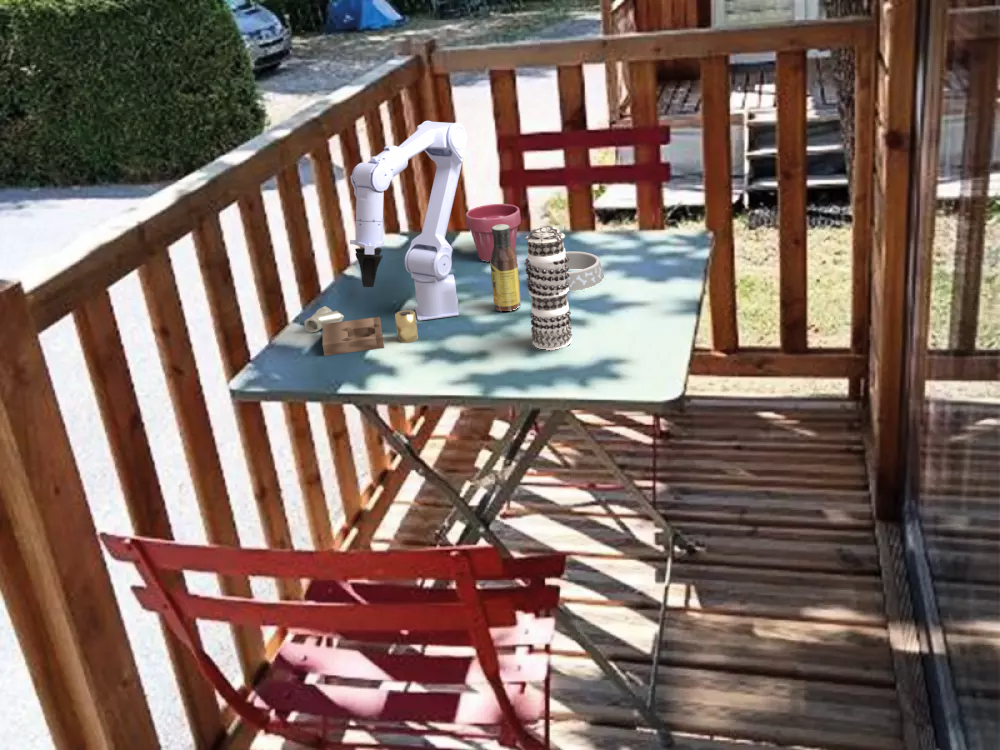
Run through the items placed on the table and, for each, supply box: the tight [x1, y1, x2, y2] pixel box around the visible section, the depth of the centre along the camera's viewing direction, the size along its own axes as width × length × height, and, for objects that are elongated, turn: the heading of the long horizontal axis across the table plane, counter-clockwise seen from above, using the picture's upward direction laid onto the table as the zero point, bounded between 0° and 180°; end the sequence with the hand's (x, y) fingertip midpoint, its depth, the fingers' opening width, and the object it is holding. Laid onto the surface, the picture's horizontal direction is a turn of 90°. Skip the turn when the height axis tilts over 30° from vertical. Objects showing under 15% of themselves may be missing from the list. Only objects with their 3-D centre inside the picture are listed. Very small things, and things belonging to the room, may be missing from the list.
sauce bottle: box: [489, 224, 521, 312], centre depth 259 cm, size 7×6×20 cm
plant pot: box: [465, 203, 522, 261], centre depth 296 cm, size 14×14×13 cm
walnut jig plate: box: [322, 316, 385, 357], centre depth 251 cm, size 13×13×2 cm
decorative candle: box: [524, 226, 573, 351], centre depth 236 cm, size 9×9×25 cm
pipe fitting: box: [303, 305, 345, 334], centre depth 261 cm, size 8×4×7 cm
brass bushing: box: [394, 309, 419, 344], centre depth 249 cm, size 4×4×6 cm
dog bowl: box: [564, 250, 605, 291], centre depth 276 cm, size 17×18×5 cm
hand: (367, 284), depth 243 cm, fingers open, 7 cm apart
